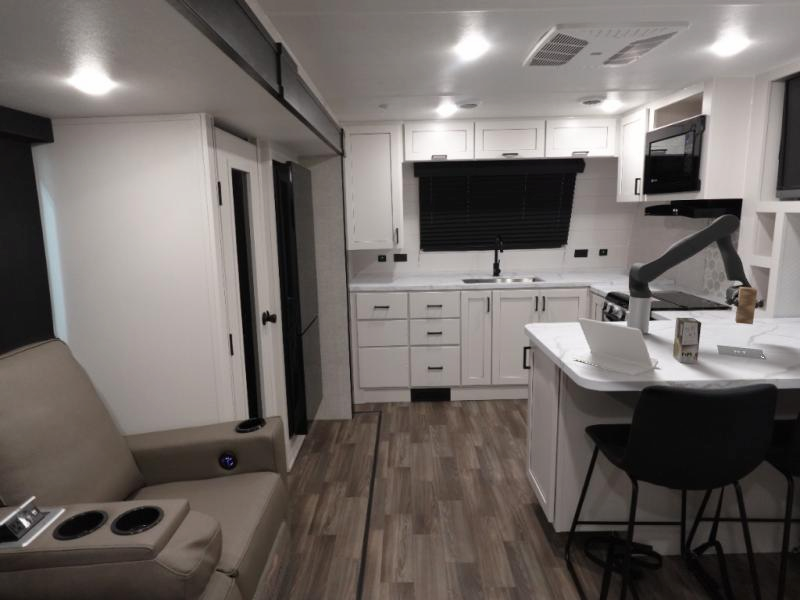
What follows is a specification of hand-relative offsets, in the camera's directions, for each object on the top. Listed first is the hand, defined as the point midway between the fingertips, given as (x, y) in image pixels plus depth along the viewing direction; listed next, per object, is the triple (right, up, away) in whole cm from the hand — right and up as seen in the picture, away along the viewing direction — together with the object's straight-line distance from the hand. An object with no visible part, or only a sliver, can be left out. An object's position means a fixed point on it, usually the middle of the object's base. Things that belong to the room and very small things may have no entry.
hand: (746, 305), depth 204 cm
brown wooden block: (+1, -7, +4) cm, 8 cm away
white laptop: (-56, -23, -7) cm, 61 cm away
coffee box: (-27, -22, -4) cm, 35 cm away
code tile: (+1, -19, +6) cm, 20 cm away
